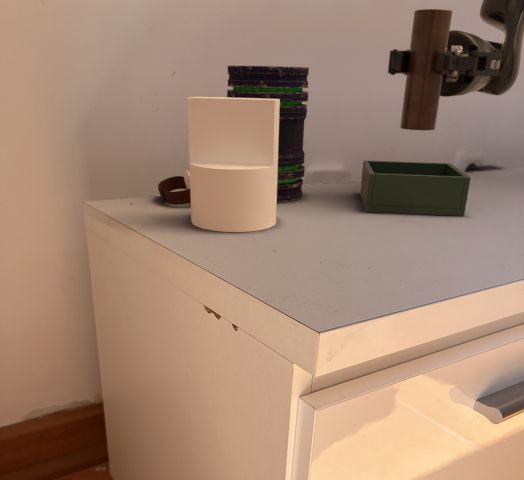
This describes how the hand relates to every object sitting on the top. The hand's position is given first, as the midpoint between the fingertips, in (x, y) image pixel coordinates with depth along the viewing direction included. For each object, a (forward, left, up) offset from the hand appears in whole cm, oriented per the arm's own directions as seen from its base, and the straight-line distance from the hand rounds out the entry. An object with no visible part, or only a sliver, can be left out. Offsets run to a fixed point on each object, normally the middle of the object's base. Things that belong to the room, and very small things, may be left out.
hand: (419, 62), depth 62 cm
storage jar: (+17, -4, -16) cm, 24 cm away
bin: (-1, -2, -16) cm, 16 cm away
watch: (+27, +2, -16) cm, 31 cm away
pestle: (-1, -3, -7) cm, 8 cm away
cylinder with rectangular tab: (+19, +11, -16) cm, 27 cm away
